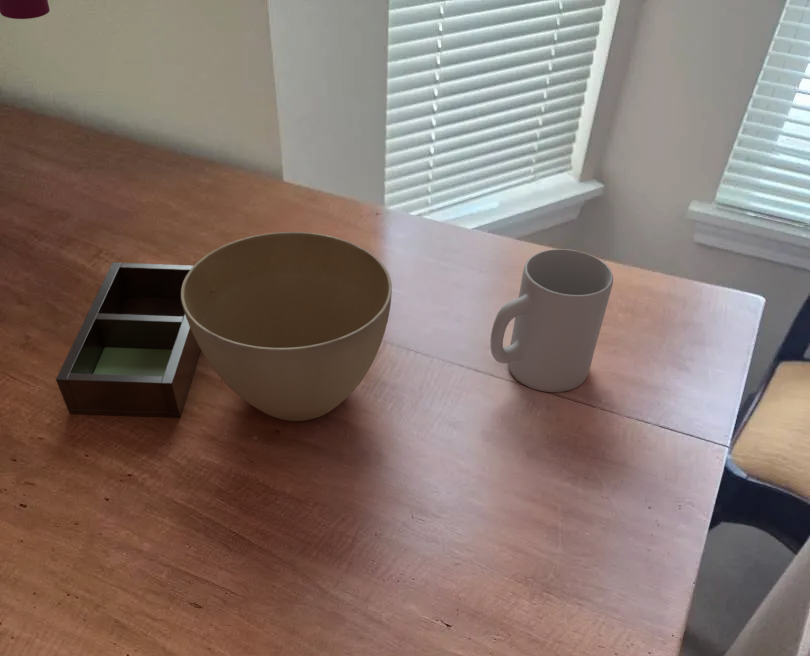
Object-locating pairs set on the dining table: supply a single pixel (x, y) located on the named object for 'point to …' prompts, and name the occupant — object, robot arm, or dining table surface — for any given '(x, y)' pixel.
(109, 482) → the dining table surface
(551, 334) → the mug
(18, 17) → the cup
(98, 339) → the divided storage box
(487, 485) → the dining table surface
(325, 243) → the beige bowl
